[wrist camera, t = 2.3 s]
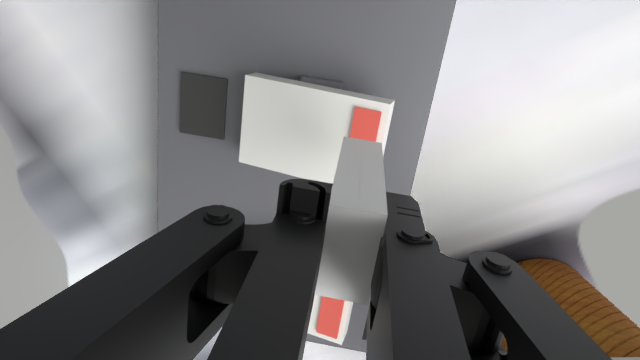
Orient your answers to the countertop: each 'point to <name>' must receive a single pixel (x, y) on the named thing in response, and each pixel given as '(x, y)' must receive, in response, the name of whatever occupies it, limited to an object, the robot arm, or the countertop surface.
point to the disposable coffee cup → (586, 308)
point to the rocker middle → (306, 125)
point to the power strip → (292, 63)
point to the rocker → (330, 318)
